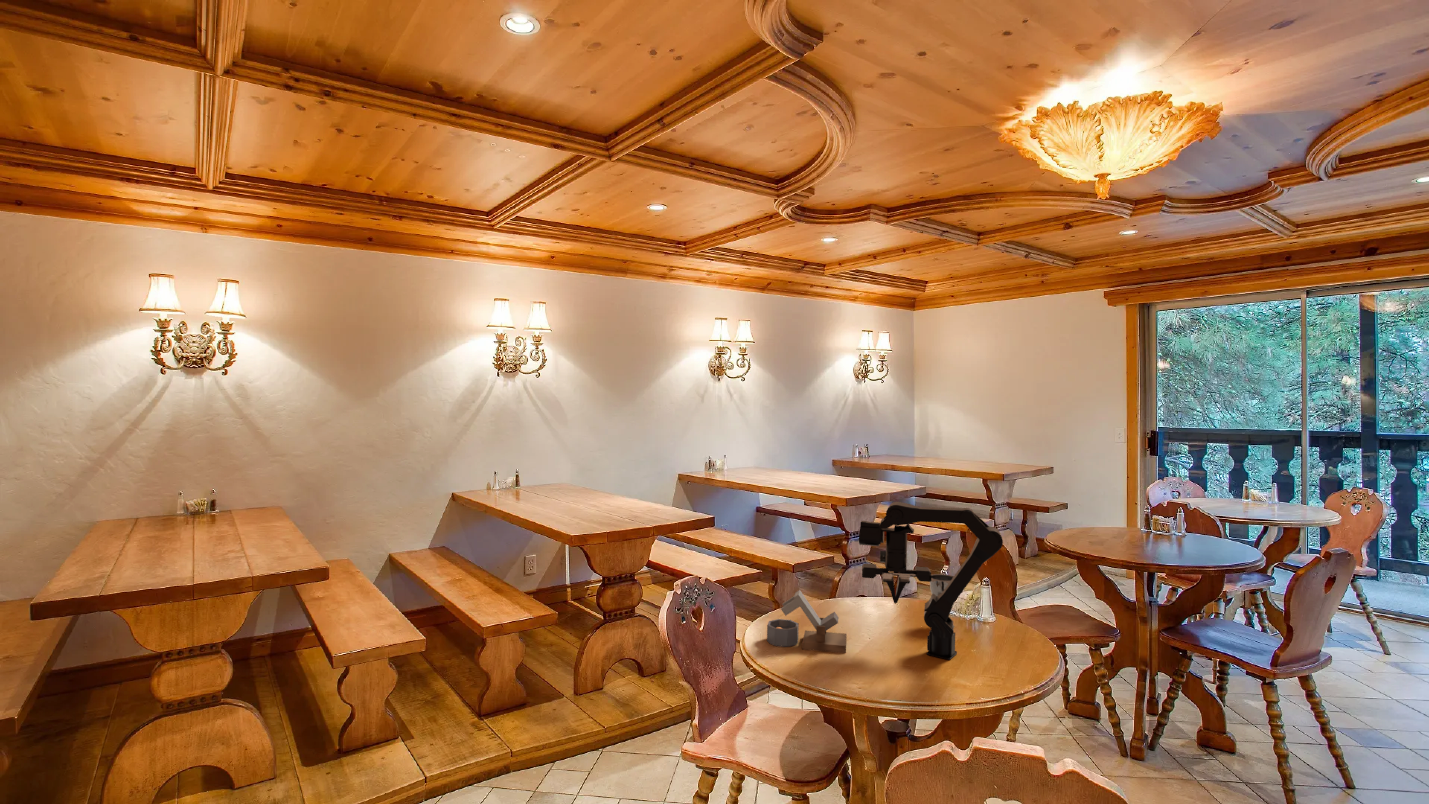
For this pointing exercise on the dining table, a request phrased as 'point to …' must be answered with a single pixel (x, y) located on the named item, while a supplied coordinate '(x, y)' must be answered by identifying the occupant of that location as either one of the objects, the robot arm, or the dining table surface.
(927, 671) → the dining table surface
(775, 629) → the cup
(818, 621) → the lever
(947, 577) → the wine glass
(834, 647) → the base
